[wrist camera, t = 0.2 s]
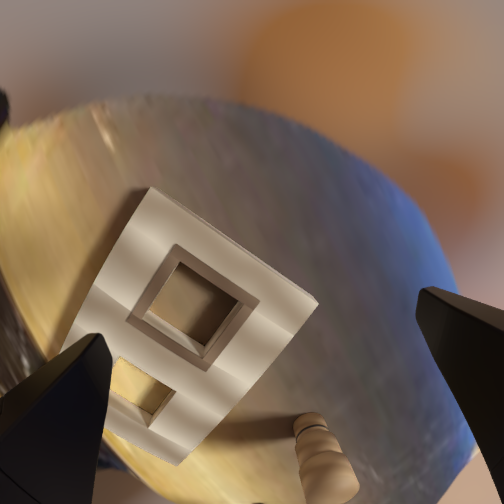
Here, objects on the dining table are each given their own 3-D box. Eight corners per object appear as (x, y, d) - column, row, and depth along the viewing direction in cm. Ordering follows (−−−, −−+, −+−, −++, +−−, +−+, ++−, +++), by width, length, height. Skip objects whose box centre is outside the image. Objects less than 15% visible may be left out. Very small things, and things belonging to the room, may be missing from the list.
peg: (310, 444, 27) (333, 511, 18) (278, 430, 26) (294, 503, 17) (337, 417, 26) (369, 483, 17) (306, 402, 26) (333, 472, 17)
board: (179, 452, 26) (176, 467, 24) (54, 375, 24) (44, 387, 22) (312, 295, 24) (319, 304, 22) (157, 187, 22) (150, 186, 20)
